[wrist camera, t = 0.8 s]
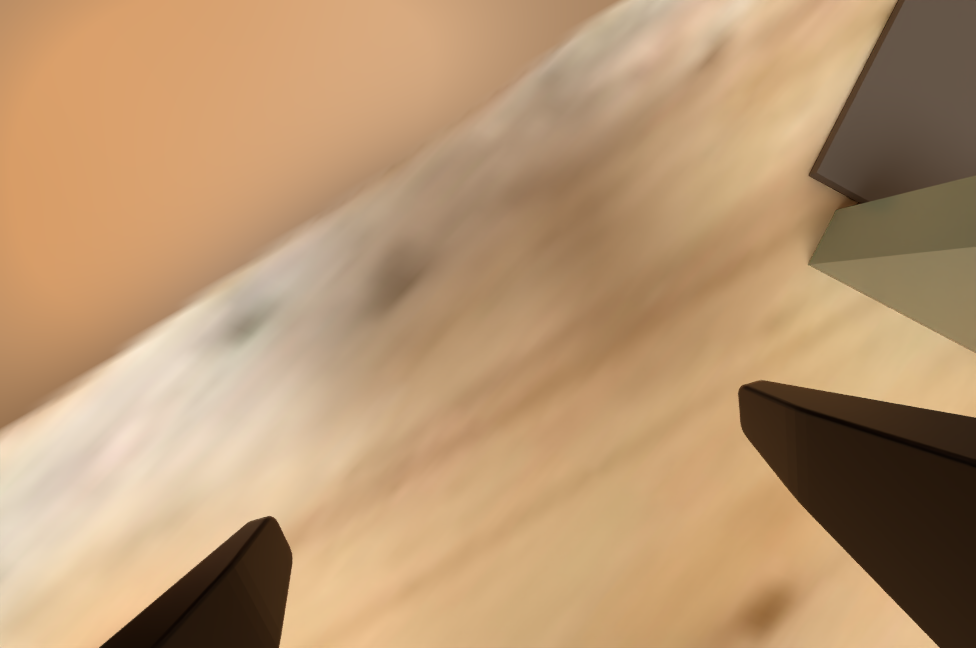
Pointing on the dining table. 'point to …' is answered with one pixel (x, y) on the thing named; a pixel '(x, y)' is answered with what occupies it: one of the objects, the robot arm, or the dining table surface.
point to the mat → (909, 107)
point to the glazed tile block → (911, 255)
